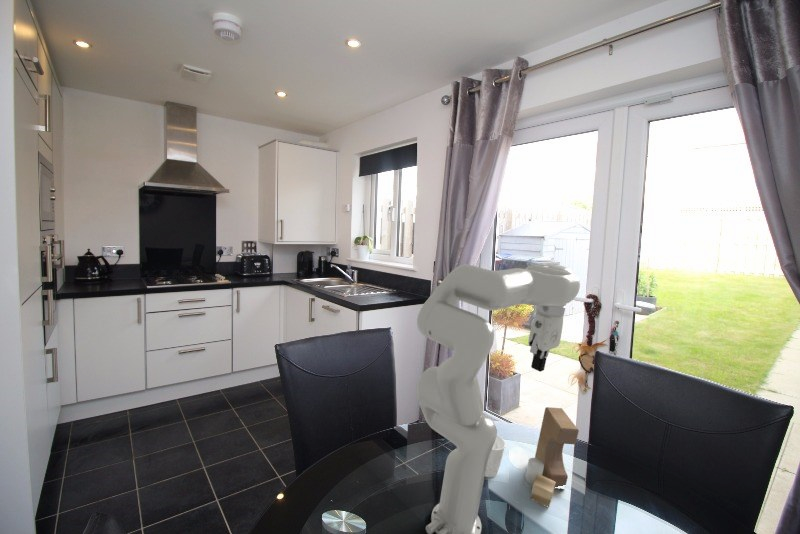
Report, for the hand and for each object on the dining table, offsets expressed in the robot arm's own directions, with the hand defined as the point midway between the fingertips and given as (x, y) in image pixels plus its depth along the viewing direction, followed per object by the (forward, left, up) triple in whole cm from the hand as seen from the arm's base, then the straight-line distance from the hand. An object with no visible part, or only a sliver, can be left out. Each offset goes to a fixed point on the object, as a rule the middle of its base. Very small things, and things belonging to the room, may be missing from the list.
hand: (537, 369), depth 114 cm
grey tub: (0, -5, -34) cm, 34 cm away
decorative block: (+6, -7, -34) cm, 35 cm away
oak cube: (-4, -10, -34) cm, 36 cm away
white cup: (-8, +6, -34) cm, 35 cm away
